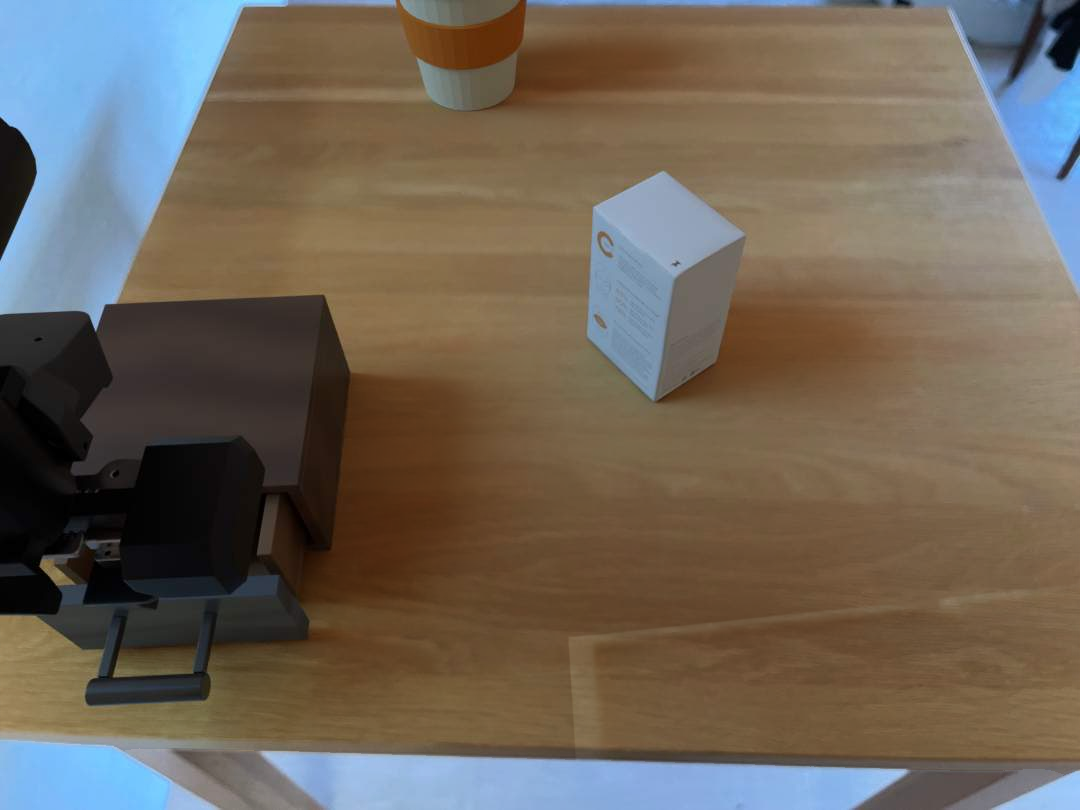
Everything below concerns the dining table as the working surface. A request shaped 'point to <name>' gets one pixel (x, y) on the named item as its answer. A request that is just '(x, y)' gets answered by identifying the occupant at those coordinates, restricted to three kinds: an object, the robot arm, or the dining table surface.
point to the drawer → (192, 614)
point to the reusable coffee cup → (465, 48)
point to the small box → (661, 282)
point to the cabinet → (229, 390)
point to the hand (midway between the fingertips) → (106, 602)
